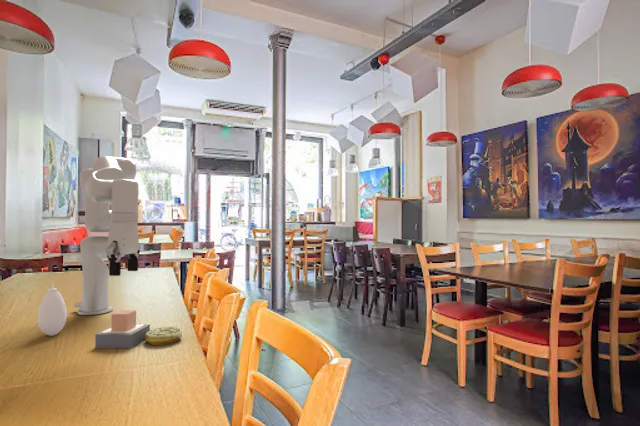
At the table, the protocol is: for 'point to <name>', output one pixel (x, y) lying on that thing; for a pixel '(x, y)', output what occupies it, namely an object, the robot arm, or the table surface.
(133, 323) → the terracotta cube
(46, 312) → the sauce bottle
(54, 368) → the table surface
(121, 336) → the grey flat square block
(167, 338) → the decorated donut
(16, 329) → the table surface
